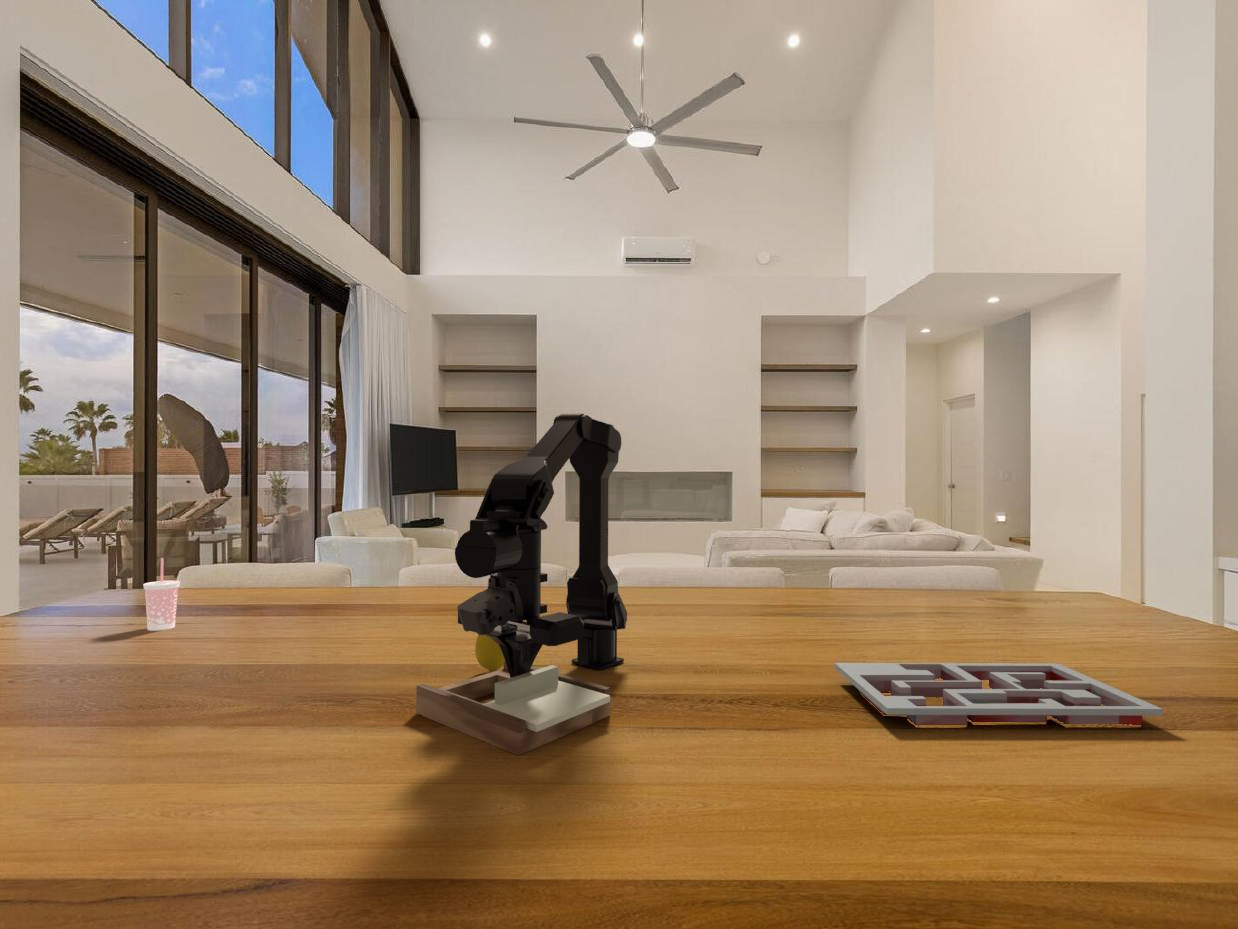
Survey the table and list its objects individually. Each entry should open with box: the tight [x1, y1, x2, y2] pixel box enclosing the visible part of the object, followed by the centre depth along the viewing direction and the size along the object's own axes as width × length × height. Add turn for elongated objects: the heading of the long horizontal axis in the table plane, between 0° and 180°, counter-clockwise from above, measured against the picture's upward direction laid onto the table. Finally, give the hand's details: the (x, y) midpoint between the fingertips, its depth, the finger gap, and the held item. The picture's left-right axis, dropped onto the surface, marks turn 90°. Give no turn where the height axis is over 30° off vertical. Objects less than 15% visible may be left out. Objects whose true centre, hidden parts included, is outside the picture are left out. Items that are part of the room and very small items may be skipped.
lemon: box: [474, 634, 505, 673], centre depth 106 cm, size 6×6×8 cm
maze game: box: [833, 662, 1164, 726], centre depth 94 cm, size 35×20×3 cm, turn 91°
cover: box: [481, 664, 611, 732], centre depth 84 cm, size 13×10×3 cm
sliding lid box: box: [415, 661, 611, 757], centre depth 88 cm, size 16×20×4 cm
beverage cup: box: [142, 557, 181, 632], centre depth 134 cm, size 6×6×14 cm
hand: (517, 685), depth 88 cm, fingers closed
